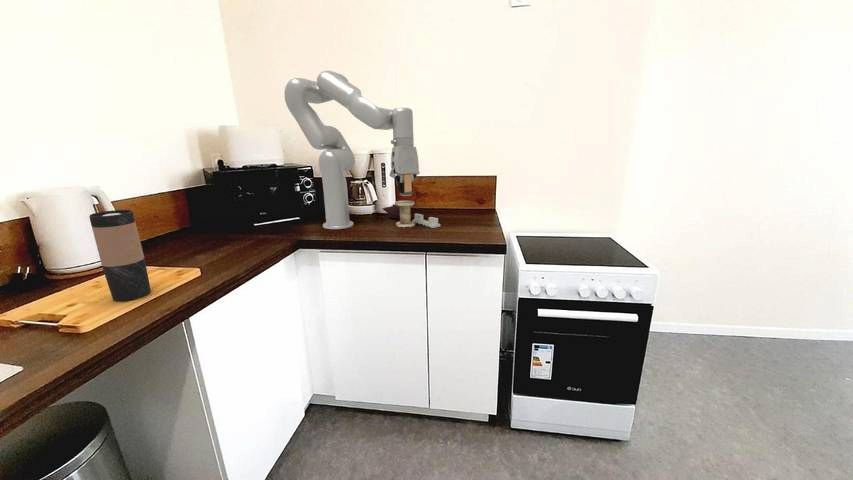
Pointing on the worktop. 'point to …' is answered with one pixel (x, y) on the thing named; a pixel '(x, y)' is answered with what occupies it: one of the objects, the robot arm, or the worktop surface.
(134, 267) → the travel mug
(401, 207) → the spool
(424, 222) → the notch board
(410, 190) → the tan rectangular block
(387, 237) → the worktop surface
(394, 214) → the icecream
